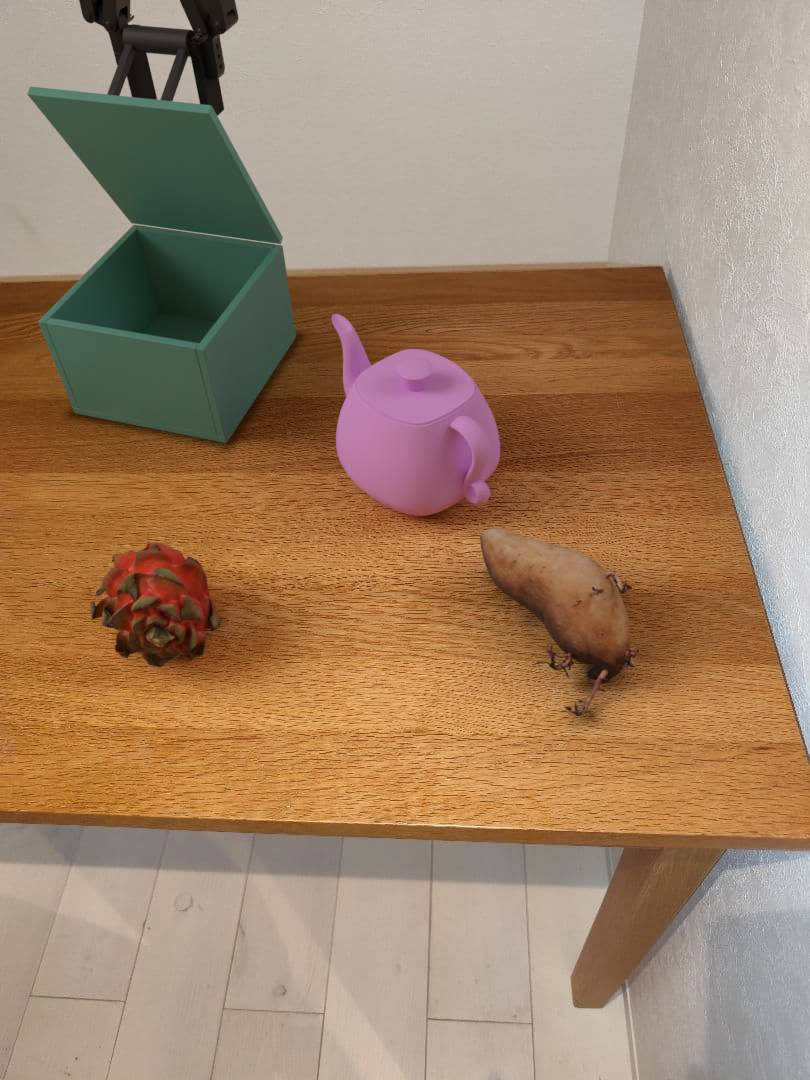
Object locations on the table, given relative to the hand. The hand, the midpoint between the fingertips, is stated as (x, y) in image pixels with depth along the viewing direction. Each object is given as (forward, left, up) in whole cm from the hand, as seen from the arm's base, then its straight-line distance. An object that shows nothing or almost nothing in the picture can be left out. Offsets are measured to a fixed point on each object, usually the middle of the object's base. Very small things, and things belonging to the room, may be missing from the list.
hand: (180, 111), depth 81 cm
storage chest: (0, -9, -23) cm, 25 cm away
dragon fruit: (+13, -39, -23) cm, 47 cm away
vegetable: (+41, -31, -23) cm, 56 cm away
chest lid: (0, -5, -4) cm, 6 cm away
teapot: (+26, -16, -23) cm, 38 cm away
